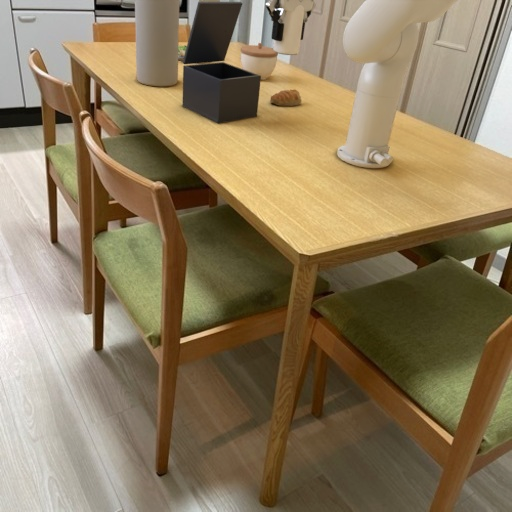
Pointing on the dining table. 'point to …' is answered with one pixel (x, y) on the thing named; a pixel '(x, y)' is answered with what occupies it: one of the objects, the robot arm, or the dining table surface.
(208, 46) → the bin lid
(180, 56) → the salad plate
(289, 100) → the pastry
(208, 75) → the bin
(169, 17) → the cylinder vase
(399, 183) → the dining table surface
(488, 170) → the dining table surface
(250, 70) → the lidded bowl
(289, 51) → the can
